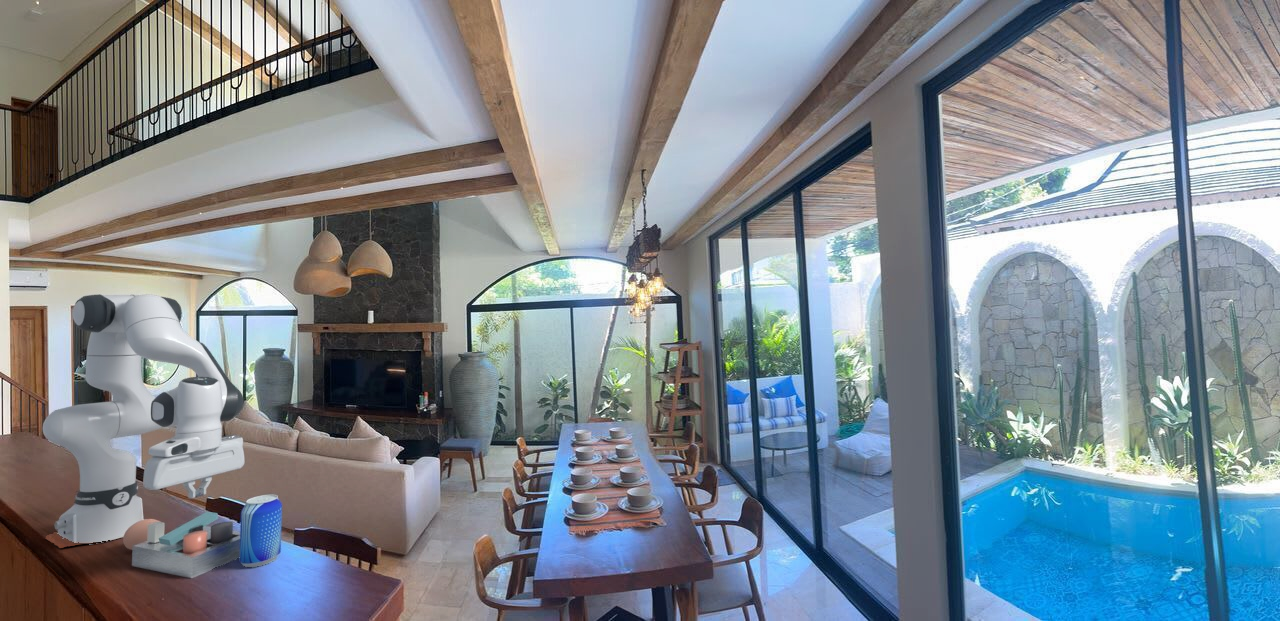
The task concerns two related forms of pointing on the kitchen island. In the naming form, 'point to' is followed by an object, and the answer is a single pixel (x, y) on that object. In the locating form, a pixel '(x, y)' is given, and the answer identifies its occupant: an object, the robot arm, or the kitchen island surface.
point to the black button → (221, 532)
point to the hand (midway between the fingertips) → (197, 496)
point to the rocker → (187, 528)
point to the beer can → (260, 530)
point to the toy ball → (137, 533)
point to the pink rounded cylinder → (194, 542)
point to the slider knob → (155, 531)
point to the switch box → (186, 555)
